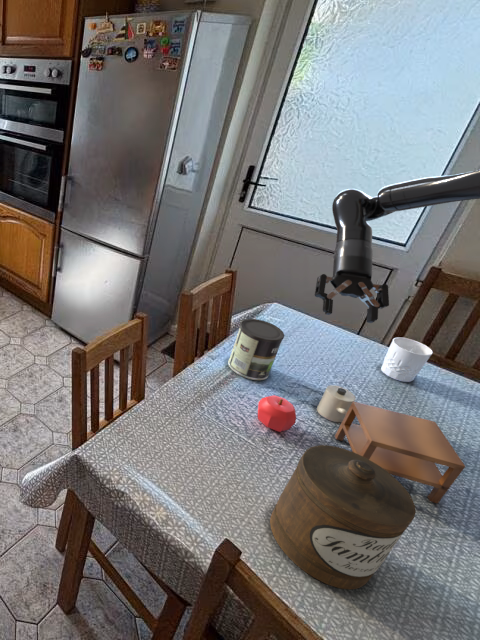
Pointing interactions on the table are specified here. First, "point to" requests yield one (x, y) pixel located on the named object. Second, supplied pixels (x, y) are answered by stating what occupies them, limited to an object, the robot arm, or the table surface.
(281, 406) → the apple
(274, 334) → the coffee can
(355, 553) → the wooden container
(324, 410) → the kettle
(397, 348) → the white cup
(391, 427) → the stand
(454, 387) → the table surface
